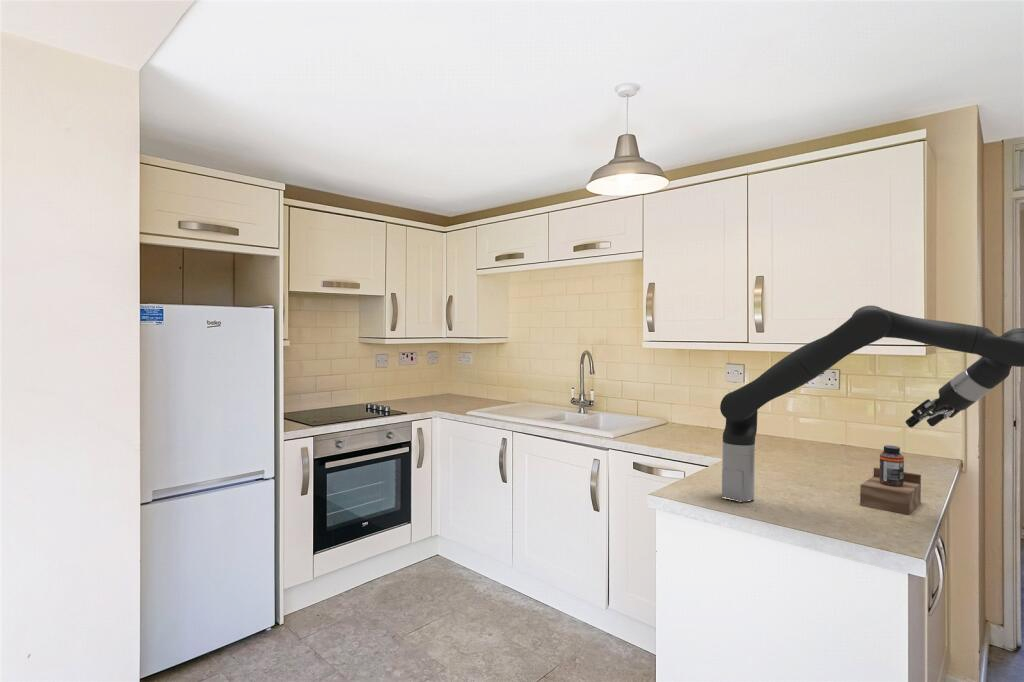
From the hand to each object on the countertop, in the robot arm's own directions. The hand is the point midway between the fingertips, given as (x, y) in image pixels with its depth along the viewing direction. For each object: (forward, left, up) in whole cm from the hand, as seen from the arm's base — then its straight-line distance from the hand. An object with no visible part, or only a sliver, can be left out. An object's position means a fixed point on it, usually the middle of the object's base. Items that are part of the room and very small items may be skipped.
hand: (918, 424), depth 157 cm
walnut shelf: (+4, +7, -25) cm, 27 cm away
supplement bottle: (+4, +7, -20) cm, 21 cm away
